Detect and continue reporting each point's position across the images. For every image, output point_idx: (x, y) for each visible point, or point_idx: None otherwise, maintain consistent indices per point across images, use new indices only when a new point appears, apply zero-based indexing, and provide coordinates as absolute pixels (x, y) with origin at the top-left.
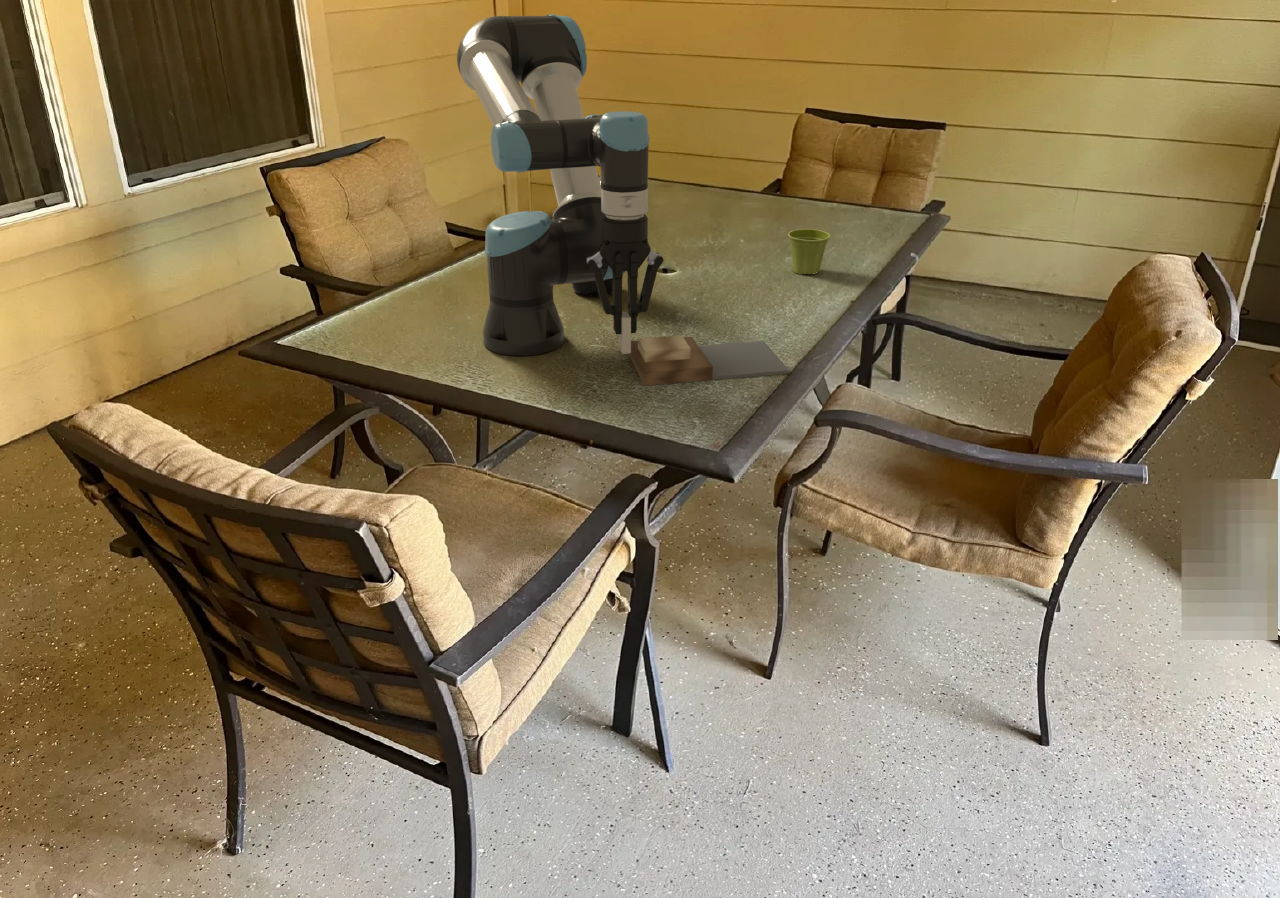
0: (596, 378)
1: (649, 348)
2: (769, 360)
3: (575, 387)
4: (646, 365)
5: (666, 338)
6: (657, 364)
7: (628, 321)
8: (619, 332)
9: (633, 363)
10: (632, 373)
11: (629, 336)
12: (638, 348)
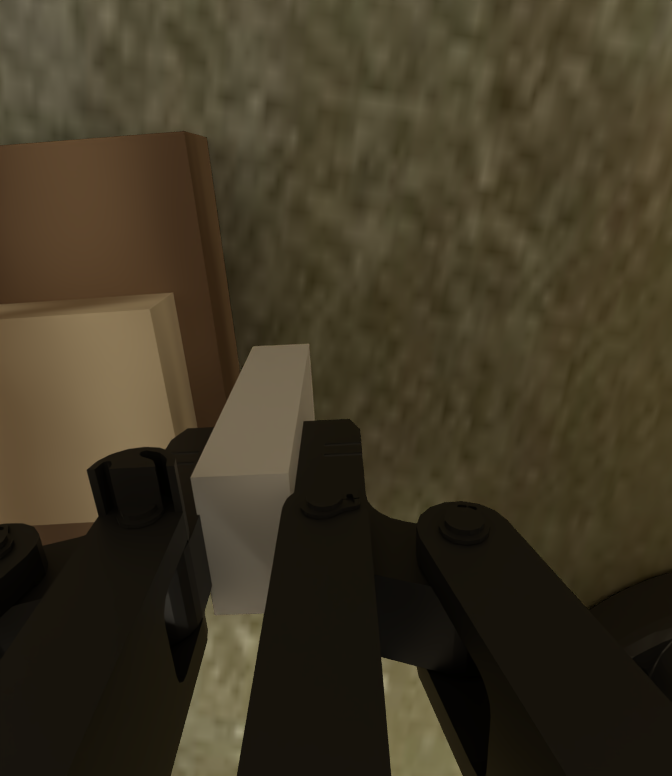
0: (460, 275)
1: (119, 357)
2: None
3: (599, 166)
4: (166, 242)
5: (10, 499)
6: (95, 248)
7: (225, 453)
8: (320, 427)
9: None
10: (260, 314)
11: (242, 390)
12: None
